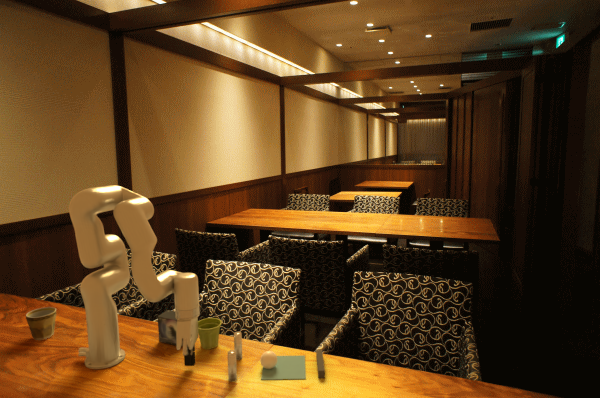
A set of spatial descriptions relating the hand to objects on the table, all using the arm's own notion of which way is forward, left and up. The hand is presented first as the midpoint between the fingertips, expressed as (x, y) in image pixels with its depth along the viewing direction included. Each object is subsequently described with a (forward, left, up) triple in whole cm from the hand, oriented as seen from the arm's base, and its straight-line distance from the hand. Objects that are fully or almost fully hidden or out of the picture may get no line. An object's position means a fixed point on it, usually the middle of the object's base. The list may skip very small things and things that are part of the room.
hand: (190, 364), depth 131 cm
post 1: (+15, -6, -2) cm, 16 cm away
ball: (+26, 0, +1) cm, 26 cm away
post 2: (+15, +6, -2) cm, 16 cm away
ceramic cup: (-65, +26, -2) cm, 70 cm away
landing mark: (+31, 0, -2) cm, 31 cm away
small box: (-11, +20, -2) cm, 22 cm away
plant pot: (+3, +16, -2) cm, 16 cm away
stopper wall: (+43, 0, -2) cm, 43 cm away
